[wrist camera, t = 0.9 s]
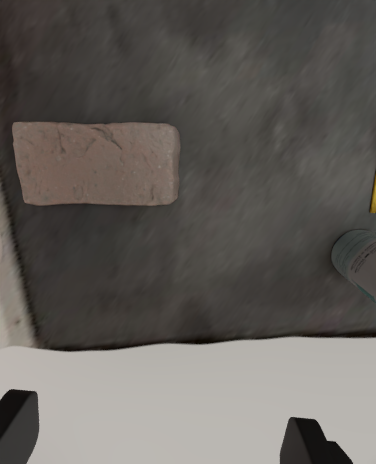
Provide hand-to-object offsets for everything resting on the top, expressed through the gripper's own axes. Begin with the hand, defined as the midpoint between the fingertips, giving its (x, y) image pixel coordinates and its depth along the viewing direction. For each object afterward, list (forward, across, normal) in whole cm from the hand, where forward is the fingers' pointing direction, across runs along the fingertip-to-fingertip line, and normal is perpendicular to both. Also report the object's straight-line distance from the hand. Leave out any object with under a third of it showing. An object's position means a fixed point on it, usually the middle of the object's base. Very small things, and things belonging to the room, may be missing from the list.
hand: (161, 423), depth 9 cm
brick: (+27, +9, -6) cm, 29 cm away
